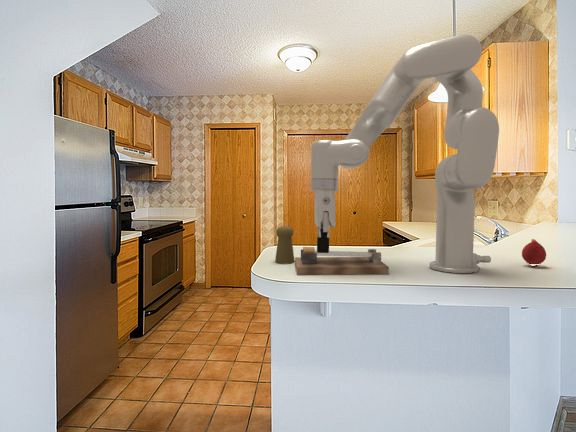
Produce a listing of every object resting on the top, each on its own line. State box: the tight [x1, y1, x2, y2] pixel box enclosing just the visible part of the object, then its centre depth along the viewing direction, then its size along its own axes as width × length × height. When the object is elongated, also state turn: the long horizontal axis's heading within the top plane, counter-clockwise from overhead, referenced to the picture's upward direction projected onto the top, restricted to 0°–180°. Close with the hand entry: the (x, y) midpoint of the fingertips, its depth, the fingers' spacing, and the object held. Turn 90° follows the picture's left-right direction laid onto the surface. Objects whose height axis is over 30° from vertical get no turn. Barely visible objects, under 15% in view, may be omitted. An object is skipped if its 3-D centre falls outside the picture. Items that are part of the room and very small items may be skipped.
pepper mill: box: [274, 225, 295, 265], centre depth 112 cm, size 6×6×11 cm
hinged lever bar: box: [302, 246, 373, 257], centre depth 103 cm, size 20×4×2 cm, turn 91°
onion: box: [521, 238, 547, 265], centre depth 105 cm, size 6×6×8 cm
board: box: [294, 248, 390, 276], centre depth 103 cm, size 24×14×5 cm, turn 91°
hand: (322, 251), depth 102 cm, fingers closed
